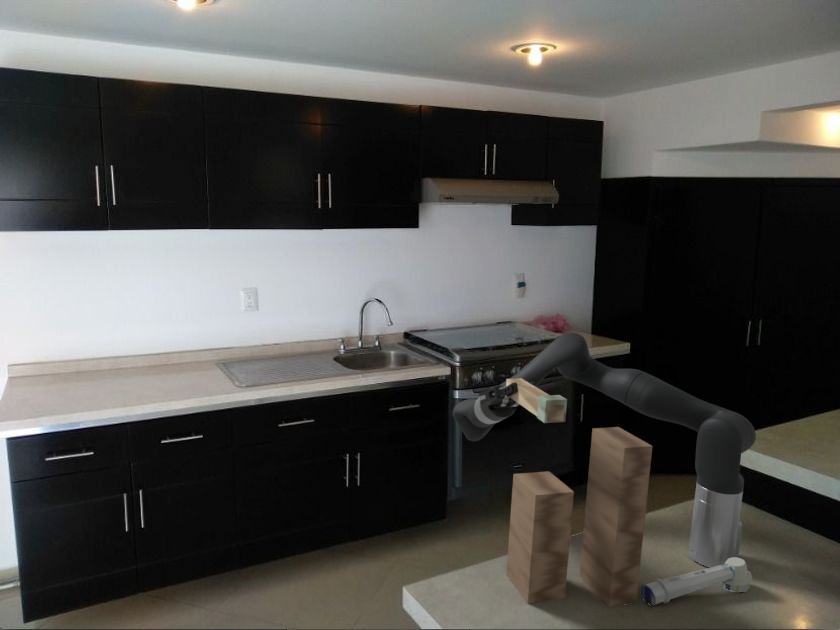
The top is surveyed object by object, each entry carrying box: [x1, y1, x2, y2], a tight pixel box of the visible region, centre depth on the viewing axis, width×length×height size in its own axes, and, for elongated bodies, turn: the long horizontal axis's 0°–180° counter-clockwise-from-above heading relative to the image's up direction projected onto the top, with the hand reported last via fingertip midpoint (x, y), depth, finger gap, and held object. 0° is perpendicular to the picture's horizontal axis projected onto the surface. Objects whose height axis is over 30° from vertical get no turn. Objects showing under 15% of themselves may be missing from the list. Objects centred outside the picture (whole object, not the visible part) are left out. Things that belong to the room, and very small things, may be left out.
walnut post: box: [578, 426, 653, 608], centre depth 124 cm, size 6×11×32 cm, turn 16°
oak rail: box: [505, 378, 568, 424], centre depth 127 cm, size 4×19×4 cm, turn 16°
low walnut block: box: [505, 470, 575, 604], centre depth 124 cm, size 8×10×22 cm
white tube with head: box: [639, 557, 753, 607], centre depth 126 cm, size 5×7×25 cm
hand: (524, 386), depth 130 cm, fingers closed on oak rail, 3 cm apart
